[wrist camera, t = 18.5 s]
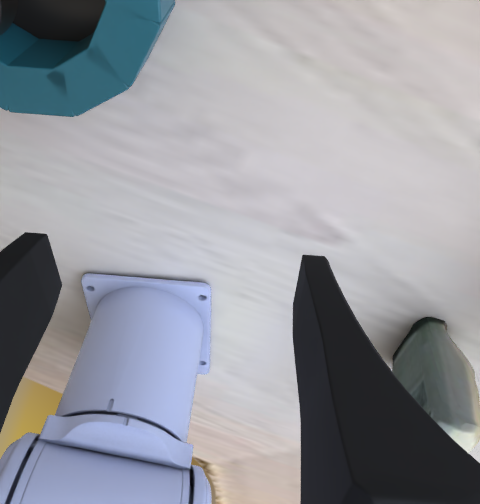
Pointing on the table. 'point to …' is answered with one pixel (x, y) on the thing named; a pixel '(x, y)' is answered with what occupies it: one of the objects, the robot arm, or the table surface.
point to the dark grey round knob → (52, 17)
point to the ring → (80, 61)
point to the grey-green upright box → (440, 380)
